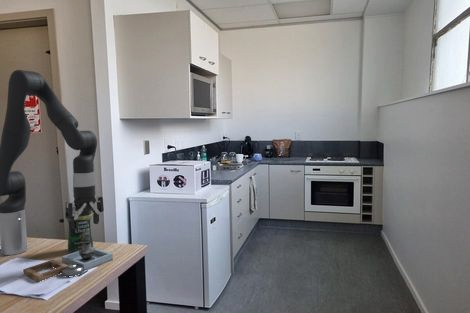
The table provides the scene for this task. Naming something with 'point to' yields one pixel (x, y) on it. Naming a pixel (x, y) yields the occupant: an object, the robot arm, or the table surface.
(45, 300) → the table surface
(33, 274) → the wooden square frame
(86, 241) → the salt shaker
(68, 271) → the grey knobbed lid
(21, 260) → the table surface
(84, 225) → the coffee jar
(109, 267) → the table surface
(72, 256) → the tray
